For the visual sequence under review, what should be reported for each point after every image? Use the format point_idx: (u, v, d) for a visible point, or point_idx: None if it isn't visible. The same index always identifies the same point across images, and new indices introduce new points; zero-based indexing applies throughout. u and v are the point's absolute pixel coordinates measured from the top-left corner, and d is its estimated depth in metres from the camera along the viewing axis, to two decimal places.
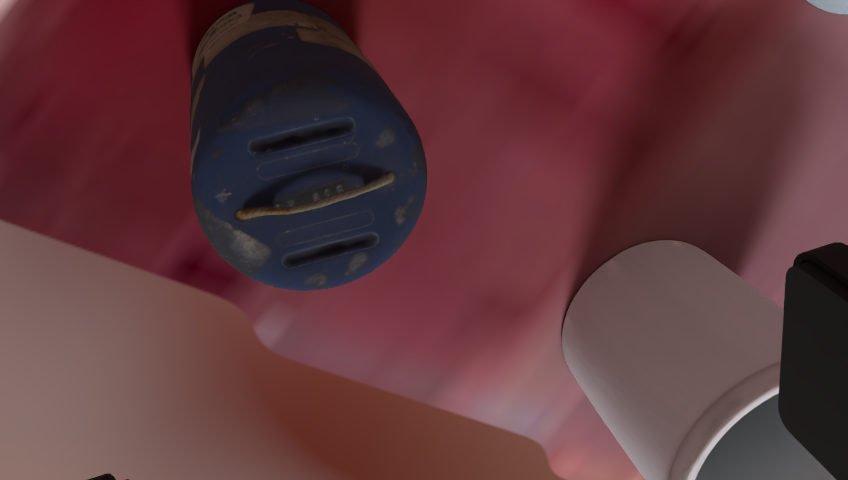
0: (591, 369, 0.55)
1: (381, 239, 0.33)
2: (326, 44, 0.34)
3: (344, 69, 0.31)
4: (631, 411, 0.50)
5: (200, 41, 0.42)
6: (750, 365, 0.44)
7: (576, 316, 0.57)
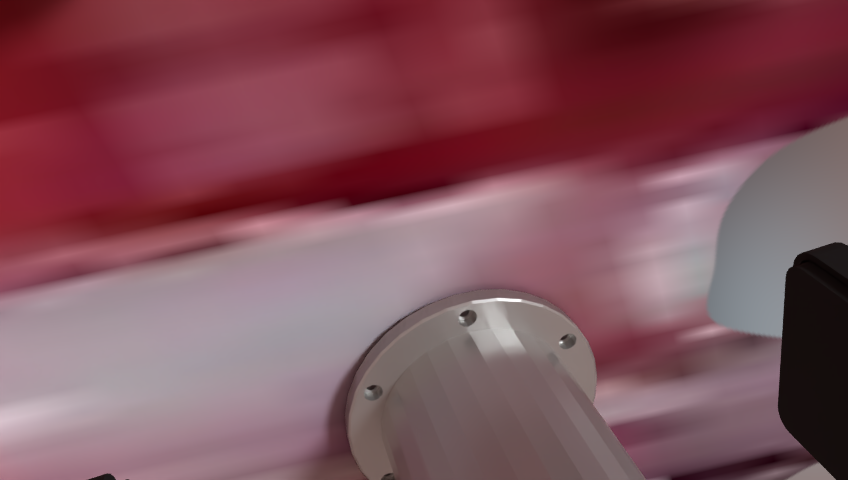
0: None
1: None
2: None
3: None
4: None
5: None
6: None
7: None
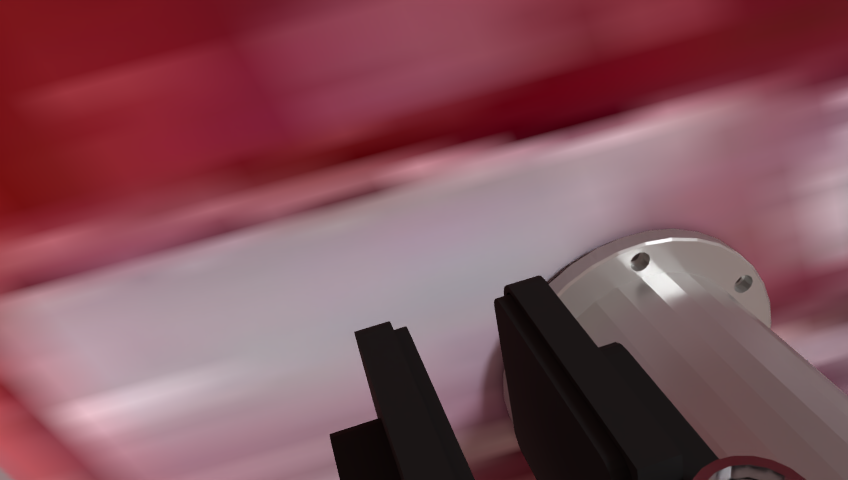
0: None
1: None
2: None
3: None
4: None
5: None
6: None
7: None
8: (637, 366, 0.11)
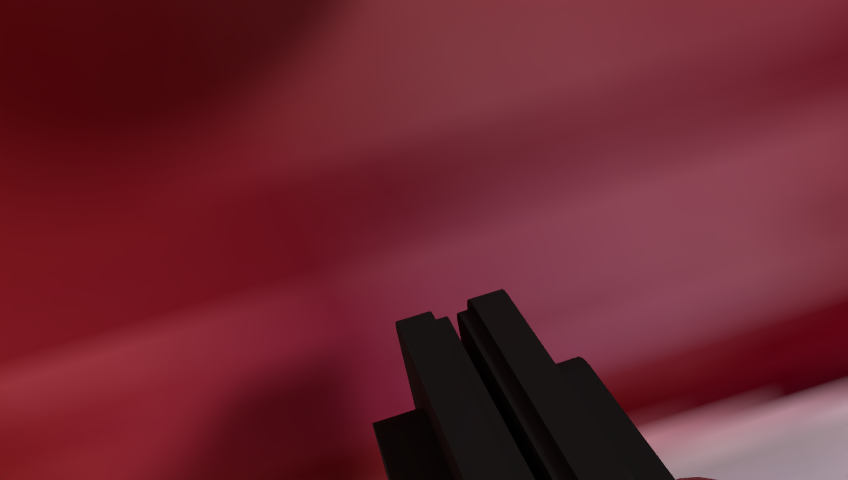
0: None
1: None
2: None
3: None
4: None
5: None
6: None
7: None
8: (598, 382, 0.10)
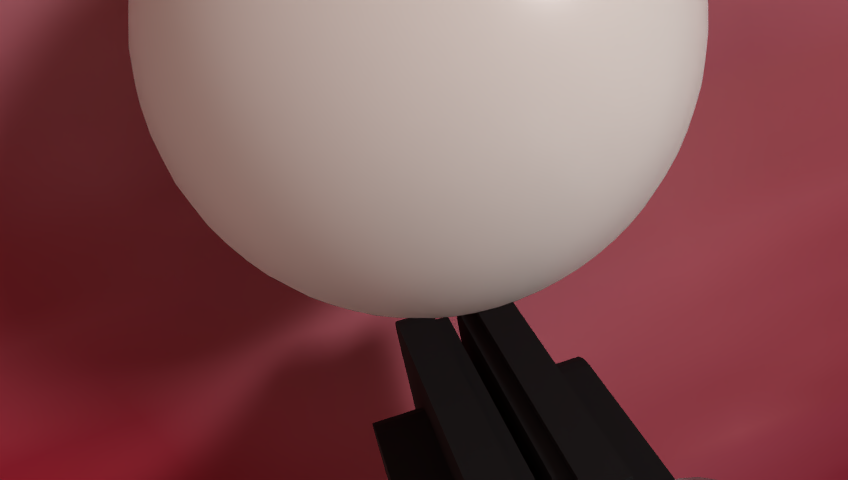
0: None
1: None
2: None
3: None
4: None
5: None
6: None
7: None
8: (598, 382, 0.10)
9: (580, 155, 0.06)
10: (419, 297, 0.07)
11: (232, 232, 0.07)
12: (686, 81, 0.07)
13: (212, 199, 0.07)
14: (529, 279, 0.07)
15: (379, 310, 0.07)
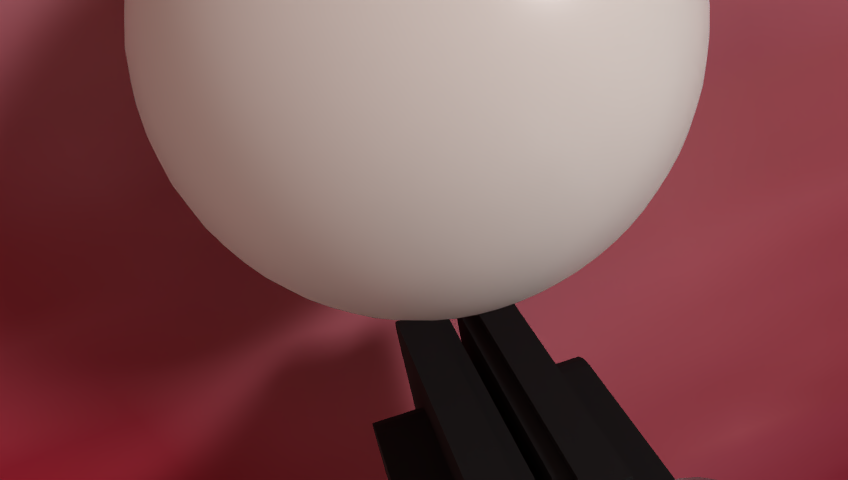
0: None
1: None
2: None
3: None
4: None
5: None
6: None
7: None
8: (598, 382, 0.10)
9: (580, 157, 0.06)
10: (418, 300, 0.07)
11: (229, 234, 0.07)
12: (687, 82, 0.07)
13: (209, 201, 0.07)
14: (529, 282, 0.07)
15: (378, 313, 0.07)
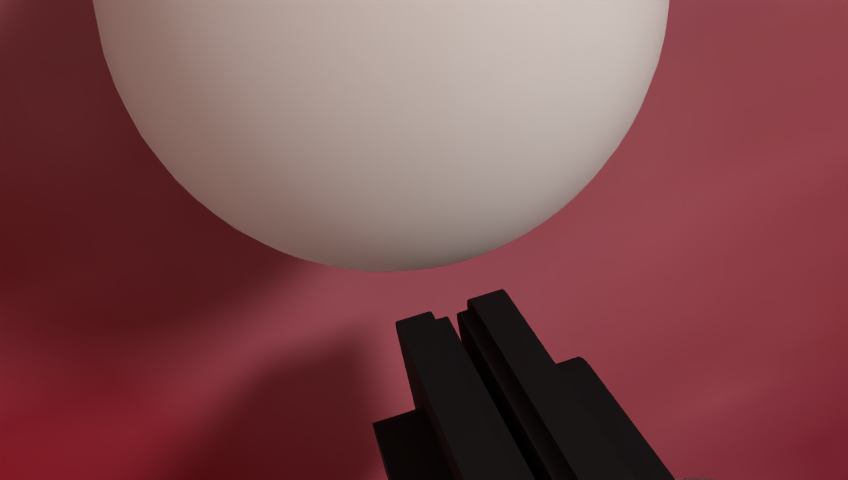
0: None
1: None
2: None
3: None
4: None
5: None
6: None
7: None
8: (599, 382, 0.10)
9: (537, 100, 0.06)
10: (382, 245, 0.07)
11: (196, 181, 0.07)
12: (646, 30, 0.07)
13: (175, 147, 0.07)
14: (491, 228, 0.07)
15: (344, 261, 0.07)
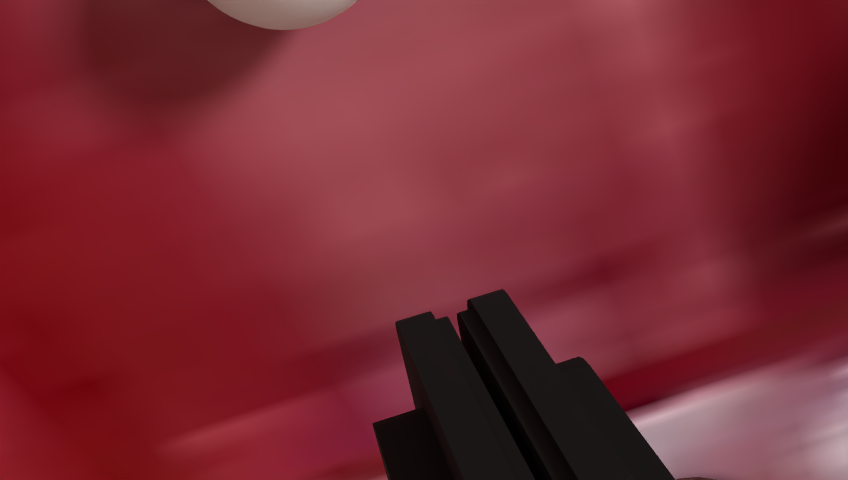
0: None
1: None
2: None
3: None
4: None
5: None
6: None
7: None
8: (598, 382, 0.10)
9: None
10: None
11: None
12: None
13: None
14: None
15: (258, 11, 0.19)
